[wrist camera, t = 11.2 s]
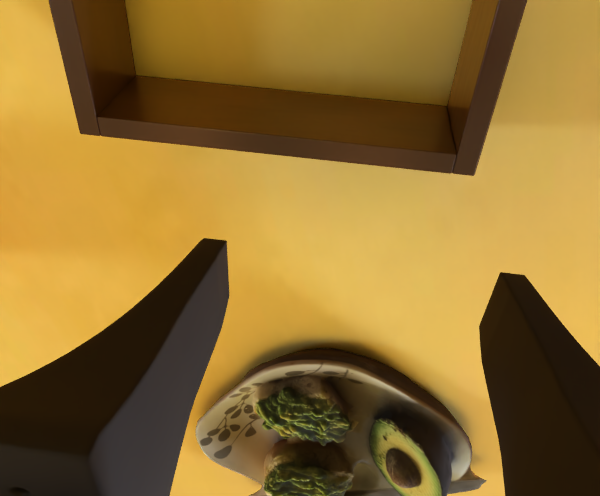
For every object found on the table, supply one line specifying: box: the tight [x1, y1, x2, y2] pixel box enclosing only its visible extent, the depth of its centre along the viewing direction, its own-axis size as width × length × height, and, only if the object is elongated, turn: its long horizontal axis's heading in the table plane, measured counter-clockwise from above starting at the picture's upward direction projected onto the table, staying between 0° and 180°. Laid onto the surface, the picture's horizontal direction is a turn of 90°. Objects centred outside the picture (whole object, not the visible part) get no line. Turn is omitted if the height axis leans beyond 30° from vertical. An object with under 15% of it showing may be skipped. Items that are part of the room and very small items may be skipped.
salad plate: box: [196, 348, 486, 496], centre depth 36 cm, size 19×18×5 cm
